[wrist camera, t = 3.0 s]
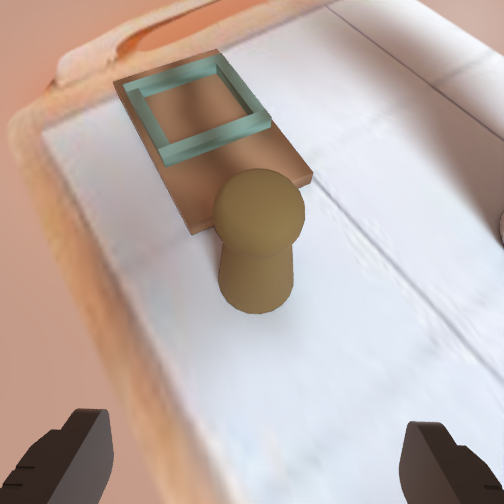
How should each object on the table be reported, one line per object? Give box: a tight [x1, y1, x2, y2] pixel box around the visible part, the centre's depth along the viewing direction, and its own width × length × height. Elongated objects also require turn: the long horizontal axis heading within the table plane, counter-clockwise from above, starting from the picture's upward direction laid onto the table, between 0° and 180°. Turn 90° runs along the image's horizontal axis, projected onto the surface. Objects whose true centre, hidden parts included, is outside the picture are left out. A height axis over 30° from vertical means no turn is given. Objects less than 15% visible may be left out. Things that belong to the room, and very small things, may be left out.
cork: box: [212, 168, 305, 314], centre depth 23 cm, size 6×6×11 cm
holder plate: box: [113, 49, 313, 235], centre depth 34 cm, size 12×20×3 cm, turn 28°
